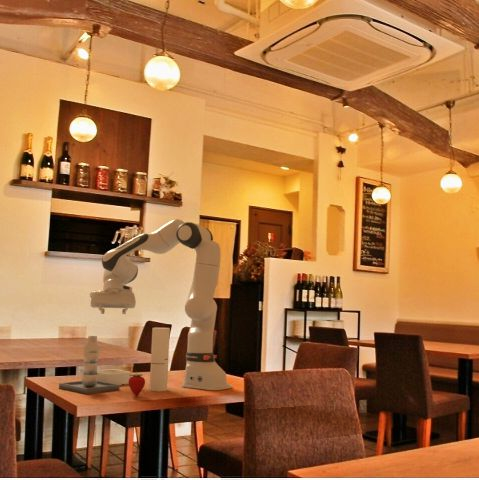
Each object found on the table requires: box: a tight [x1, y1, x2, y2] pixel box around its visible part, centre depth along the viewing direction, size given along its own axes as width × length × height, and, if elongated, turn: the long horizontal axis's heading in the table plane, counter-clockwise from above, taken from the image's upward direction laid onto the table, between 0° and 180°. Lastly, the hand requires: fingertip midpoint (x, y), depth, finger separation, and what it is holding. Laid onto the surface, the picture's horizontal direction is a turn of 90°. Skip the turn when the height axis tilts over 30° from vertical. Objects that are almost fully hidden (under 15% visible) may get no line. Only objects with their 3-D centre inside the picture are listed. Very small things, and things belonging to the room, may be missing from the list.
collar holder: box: [97, 368, 132, 386], centre depth 240 cm, size 12×12×5 cm
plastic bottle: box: [81, 335, 100, 387], centre depth 224 cm, size 6×7×20 cm
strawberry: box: [128, 370, 146, 397], centre depth 210 cm, size 6×8×10 cm
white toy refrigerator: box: [148, 327, 171, 392], centre depth 228 cm, size 7×7×25 cm
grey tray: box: [58, 380, 121, 395], centre depth 223 cm, size 18×16×2 cm
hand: (113, 313), depth 250 cm, fingers open, 8 cm apart
